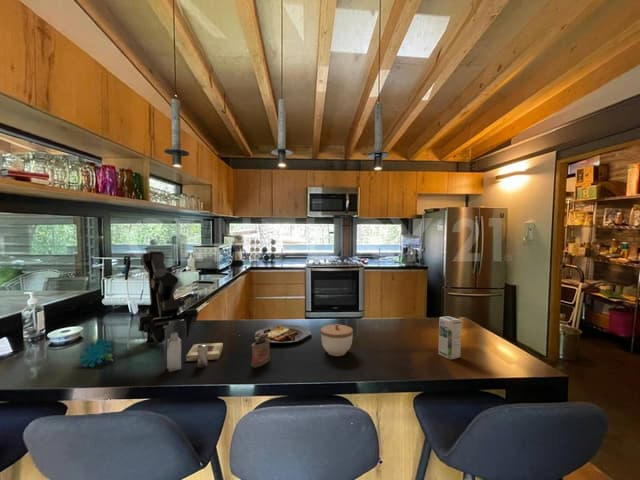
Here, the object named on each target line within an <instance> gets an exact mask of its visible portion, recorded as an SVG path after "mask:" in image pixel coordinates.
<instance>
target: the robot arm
mask: <svg viewBox="0 0 640 480" xmlns="http://www.w3.org/2000/svg"><path fill="white" fill-rule="evenodd" d="M141 264H143V269H144V271H146V273H147V275H148V285H149V286H148V287H149V301H150V302H149V303H150V305H149V306H148V308H147V310H146V314H145V315H142V316H140V317H139V318H138V324H137V325H138V326H137V327H138V332H142V333H145V334H146V335H147V336H146V340H145V343H155V344H156V345H159V343H160V342H161V343H162V342H164V341H165V339H167V338H168V334H167V331H168V329H167V327H166V326H169V324H170V323H171V322H178V321H183V322H184V325H183V327H184V335H185V337H186V339H188V338H189V334H190V327H191V325H193V324H194V323H196V322H197V319H198V316H199V310H198V309H196V308H190V309H185V311H184V313H183V314H182V313H181V314H178V313H179V312H180V310H179V309H180V307H184V306H185V297H184V296H179V297H177V298H175V293H176V290H177V287H178V283H179V278H178V277H177V276H176V275H174V274H172V273H171V271H168V270H167V268H166V263H165V253H163V251H161V250H160V251H156V250H155V251H150V252H148V253H144V254H142V255H141Z"/></svg>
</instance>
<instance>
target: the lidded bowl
mask: <svg viewBox="0 0 640 480" xmlns="http://www.w3.org/2000/svg"><path fill="white" fill-rule="evenodd" d="M353 334H354V330H353V328H352V327H350V326H348V325H345V324H344V325H343V324H338V323H335V324H327V325H324V326H322V327H321V328H320V339H321V345H322V346H323V349H324V350H325V352H327V354H328V355H330V356H333V357H341V356H344V355H346V353H347V352H348V351H349V350H350V349H351V346H352V343H353Z"/></svg>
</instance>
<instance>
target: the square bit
mask: <svg viewBox="0 0 640 480" xmlns="http://www.w3.org/2000/svg"><path fill="white" fill-rule="evenodd" d="M169 337H170V338H166V340H167V341H166V355H167V356H166V369H167V370H168V372H169V373H172V372H174V371H178V370H181V369H182V339H181V338H180V336H179V332H176V331H175V332H171V333H170V336H169Z"/></svg>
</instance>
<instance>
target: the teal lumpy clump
mask: <svg viewBox="0 0 640 480" xmlns="http://www.w3.org/2000/svg"><path fill="white" fill-rule="evenodd" d="M88 344H89V348H88V347H85V348H84V349H83V350H82V351H83V352H84V353H86V354H83V353H81V354H80V355H79V358H80V361H79V365H82V366H83V367H84V368H88V367H91V368H94V367H95V366H96V363H97V364H98V365H100V364H102V363H103V361H104V360H105V361H110V362H112V363H113V362H114V361H115V360H114V359H113V358H112V357H113V354H112V353H110V352H111V351H112V347H111V345H112V343H111V341H108V340H107V339H106V338H104V339H103V340H102V339H96V342H90V343H88ZM106 351H107V352H108V353H105V352H106Z"/></svg>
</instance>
